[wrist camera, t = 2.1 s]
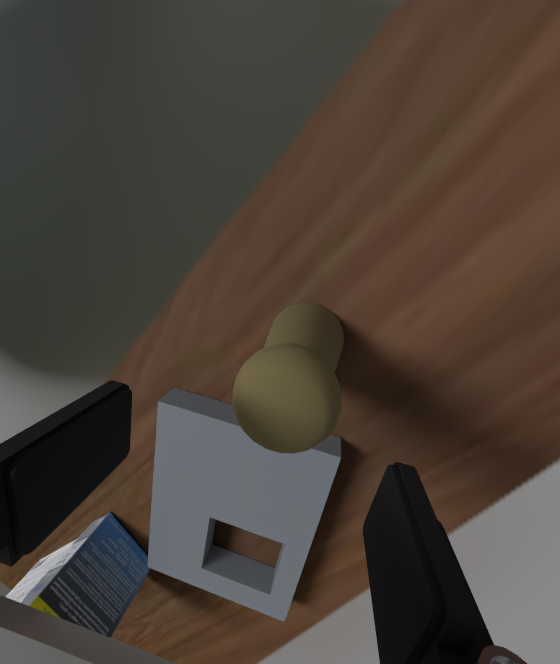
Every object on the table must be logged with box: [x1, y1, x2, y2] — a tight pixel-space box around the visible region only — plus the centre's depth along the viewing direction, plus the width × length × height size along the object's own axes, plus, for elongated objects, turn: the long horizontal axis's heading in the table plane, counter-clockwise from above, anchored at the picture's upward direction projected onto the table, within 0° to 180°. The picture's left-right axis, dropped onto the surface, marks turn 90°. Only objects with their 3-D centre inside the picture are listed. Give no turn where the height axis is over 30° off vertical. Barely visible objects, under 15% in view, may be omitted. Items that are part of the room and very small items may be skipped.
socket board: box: [147, 388, 341, 622], centre depth 27 cm, size 16×22×2 cm
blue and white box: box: [23, 513, 151, 638], centre depth 28 cm, size 9×4×12 cm, turn 34°
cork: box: [232, 302, 344, 454], centre depth 16 cm, size 6×6×11 cm
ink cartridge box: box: [6, 539, 77, 604], centre depth 32 cm, size 2×11×10 cm, turn 128°
